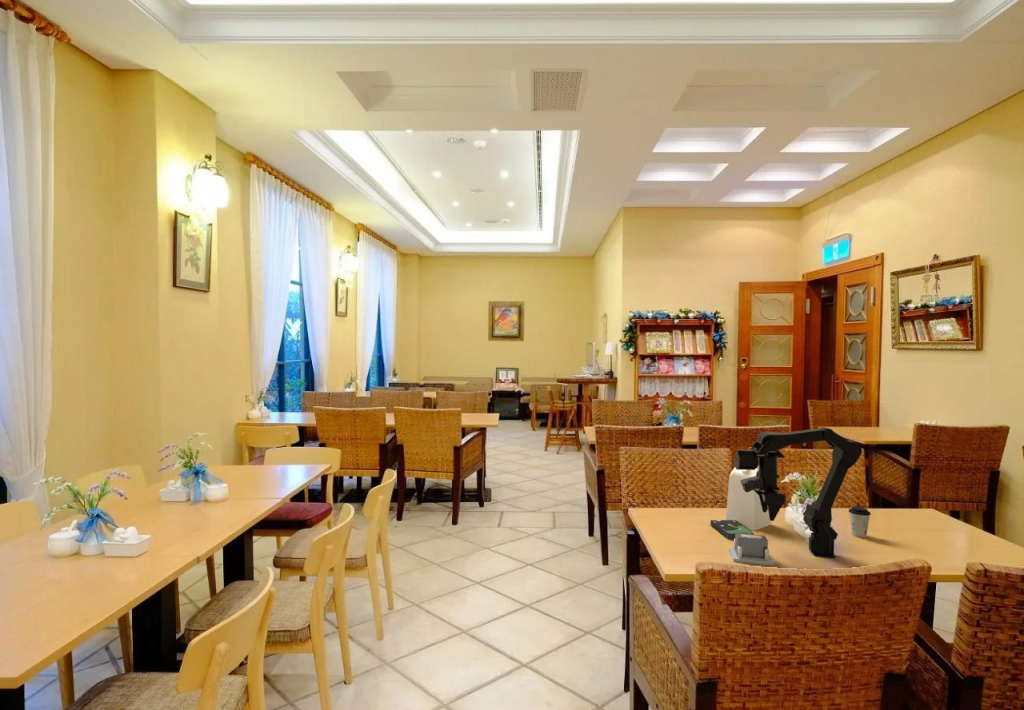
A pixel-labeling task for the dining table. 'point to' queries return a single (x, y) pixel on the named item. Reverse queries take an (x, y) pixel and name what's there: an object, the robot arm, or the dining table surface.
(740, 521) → the milk
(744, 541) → the block
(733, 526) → the disk drive
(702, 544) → the dining table surface
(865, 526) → the coffee cup
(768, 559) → the tray
